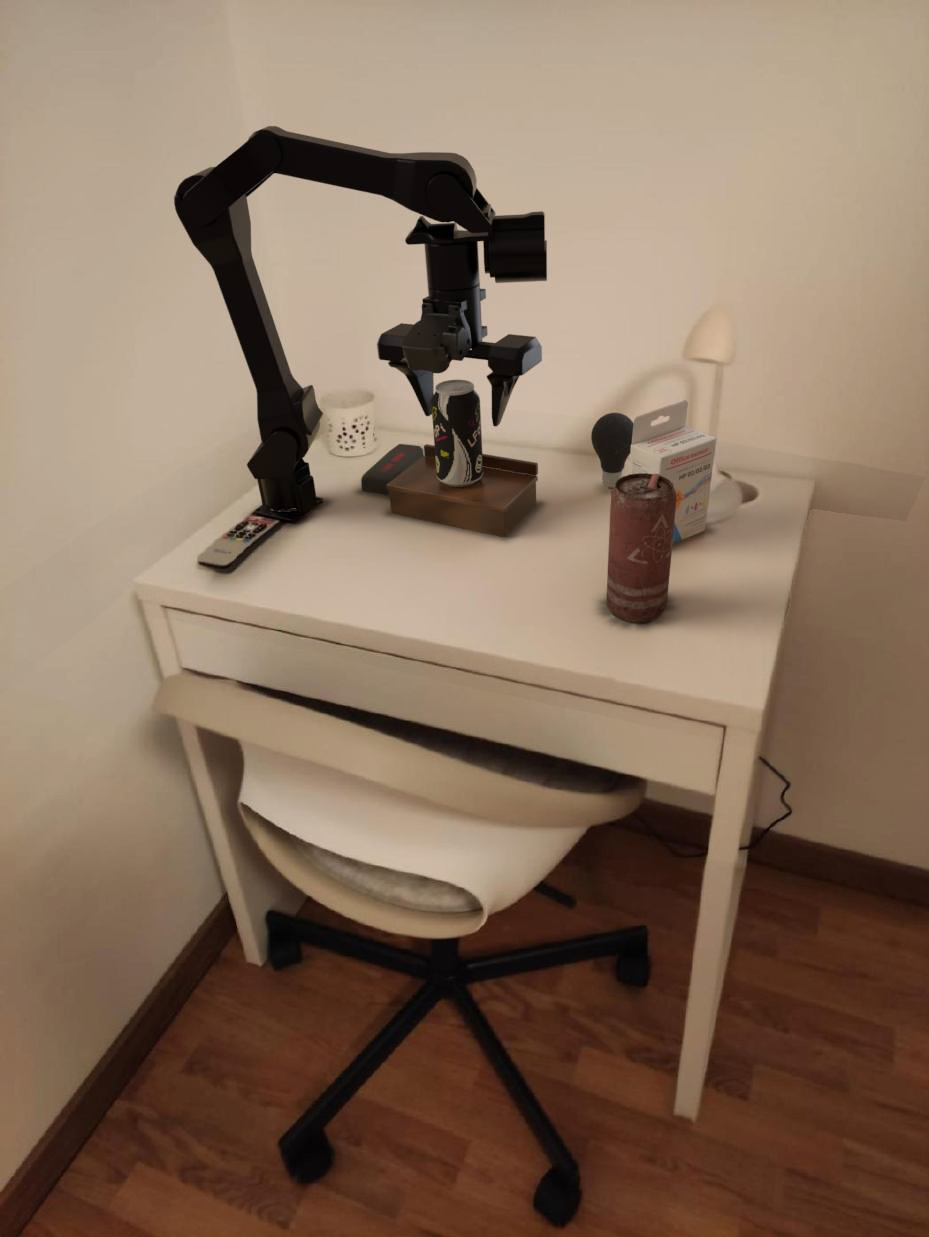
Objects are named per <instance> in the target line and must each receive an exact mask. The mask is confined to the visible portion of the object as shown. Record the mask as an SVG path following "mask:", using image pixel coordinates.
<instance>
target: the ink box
mask: <svg viewBox="0 0 929 1237" xmlns="http://www.w3.org/2000/svg"><path fill="white" fill-rule="evenodd" d="M688 404H689V402H688V401H687V399H684V400H682V401H678V402H676V403H673V404H669V405H667V406H666V405H665V406H663V407H660V408H657V409H654V410H651V411H648V412H645V413H642V414H640V415H636V416H635V417H634V419H633V423H634V425H633V435H632V444H631V451H630V455H629V468H628V475H630V474H637V473H648V474H660V476H663V477H665V478H667V479H669V480H670V481H671V482H672V483H673V486H674V489H675V491H676V495H677V500H676V511H675V522H674V532H673V543H672V545H673V544H675V543H678V542H680V541H682V540H685V539H687V538H690V537H692V536H695V535H698V534H700V533H702V532H704V531H705V530H706V525H707V518H708V508H709V501H710V492H711V484H712V478H713V477H712V476H713V470H714V468H713V467H714V459H715V453H716V445H717V437H714V436H712V435H710V434H706V433H704V432H702V431H700V430H697V429H695V428H693V427H690V426H688V425H687V424H686V422H687V416H688V415H687V414H688V407H689V406H688ZM660 417H663V418H665V417H666V418H667V417H669V418H668V420H666V421H663V422H659V423H657V424H654V425H652V423H653V422H654V421H657V420H658V419H659V418H660Z"/></svg>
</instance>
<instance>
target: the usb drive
mask: <svg viewBox="0 0 929 1237" xmlns="http://www.w3.org/2000/svg"><path fill="white" fill-rule="evenodd" d="M424 445H425V444H420V443H412V442H405V443H398V444H397V445H395V446H394V447H393V448H391V449H390V450H388V452H386V453H385V454H383V456H382V457H381V458H380V459H379V460H378V461H377V462H375V463H374V464H373V465H372V466H371V467H370V468H369V469H367V470H366V471H365V472H364V474H362V476H361V479H360V480H361V481H360V483H361V492H363V493H372V494H379V495H385V496H386V495H387V496H389V489H387V486H386V485H387V484H388V483H389V482H391V481H392V480H393V479H395V478H396V477H397V476H398V475H400V474H401V473H402V472H404V471H405V470H406V469H408V468H409V467H410V466H412V465H413V464H414V463H415V462H417V461H418V460H419V459H421V458H422V457H423V456H425V452H424Z"/></svg>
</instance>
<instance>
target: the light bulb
mask: <svg viewBox="0 0 929 1237" xmlns="http://www.w3.org/2000/svg"><path fill="white" fill-rule="evenodd" d="M633 425H634V421H632V419H631V418H630V417H629V416H627V415H626V414H624V413H620V412H609V413H605V414H604V415H602V416H601V417H600V418H599V419H598V420H596V421H595V424H594V425H593V427H592V429H591V433H590V434H591V435H590V439H591V444H592V447H593V450H594V452H595V454H596V455H597V457H598V458H599V462H600V468H601V470H602V476H601V477H602V478H601V480H602V484H603V486H604V487H607V489H608V490H613V488H614V487H615V483H616V482H617V480H619V479H620V478H622V477H623V472H624V468H625V465H626V462H627V459H628V457H630V451H631V444H632V435H633Z"/></svg>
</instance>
